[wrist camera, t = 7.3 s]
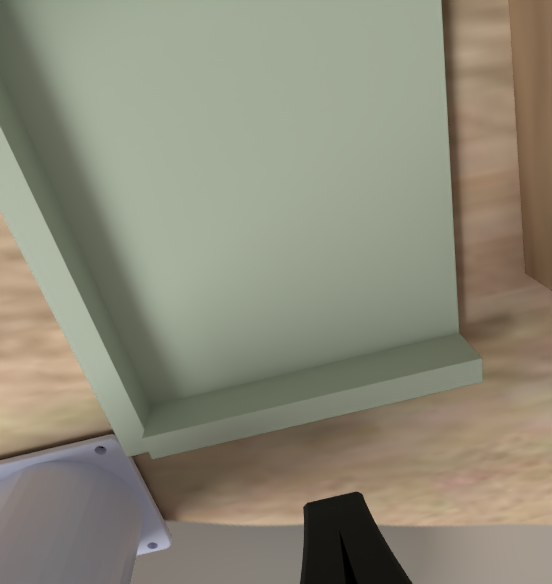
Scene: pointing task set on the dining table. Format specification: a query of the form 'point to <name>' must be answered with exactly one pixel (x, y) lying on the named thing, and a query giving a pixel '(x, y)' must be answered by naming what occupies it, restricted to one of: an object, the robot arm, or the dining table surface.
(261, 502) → the dining table surface
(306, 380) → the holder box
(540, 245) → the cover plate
